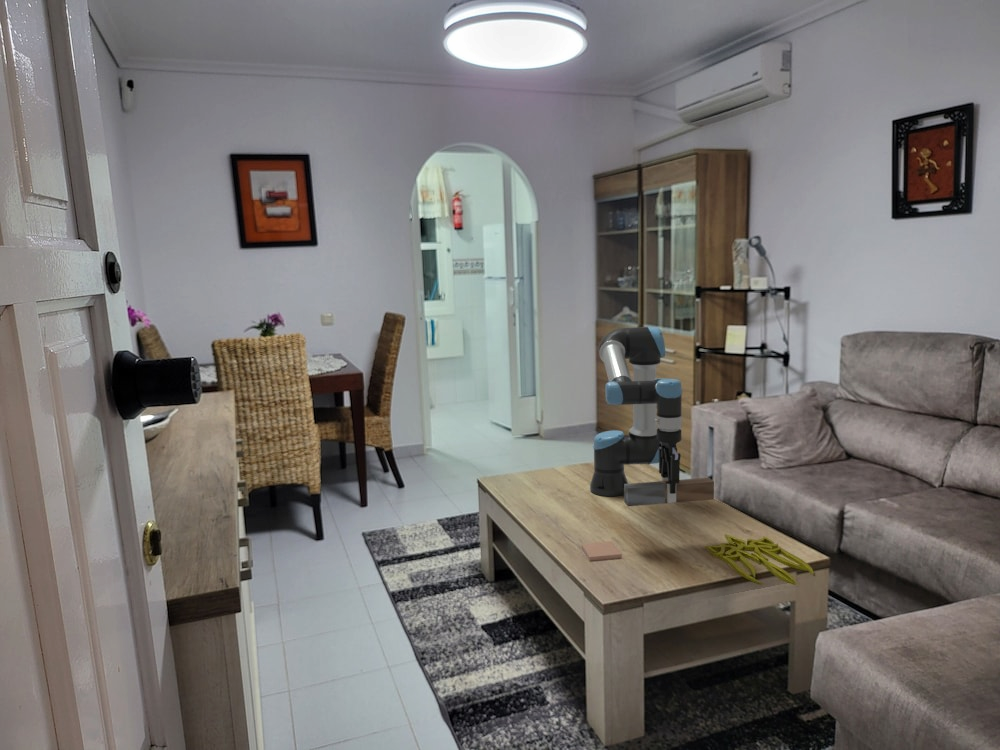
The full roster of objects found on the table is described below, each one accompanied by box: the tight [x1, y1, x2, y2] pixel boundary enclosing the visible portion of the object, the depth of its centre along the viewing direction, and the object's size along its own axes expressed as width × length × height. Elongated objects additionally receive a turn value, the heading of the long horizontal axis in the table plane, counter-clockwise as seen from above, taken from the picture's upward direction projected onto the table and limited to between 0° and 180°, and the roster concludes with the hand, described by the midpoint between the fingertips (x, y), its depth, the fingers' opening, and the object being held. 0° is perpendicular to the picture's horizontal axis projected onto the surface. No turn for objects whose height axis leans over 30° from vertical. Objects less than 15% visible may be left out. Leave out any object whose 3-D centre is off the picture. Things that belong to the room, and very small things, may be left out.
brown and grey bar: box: [623, 477, 715, 507], centre depth 214 cm, size 4×28×6 cm, turn 96°
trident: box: [705, 533, 815, 586], centre depth 201 cm, size 22×2×35 cm
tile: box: [581, 540, 622, 562], centre depth 211 cm, size 10×2×10 cm
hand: (668, 499), depth 215 cm, fingers closed on brown and grey bar, 4 cm apart
